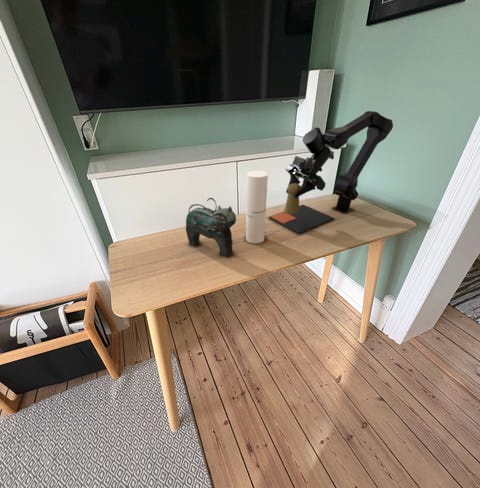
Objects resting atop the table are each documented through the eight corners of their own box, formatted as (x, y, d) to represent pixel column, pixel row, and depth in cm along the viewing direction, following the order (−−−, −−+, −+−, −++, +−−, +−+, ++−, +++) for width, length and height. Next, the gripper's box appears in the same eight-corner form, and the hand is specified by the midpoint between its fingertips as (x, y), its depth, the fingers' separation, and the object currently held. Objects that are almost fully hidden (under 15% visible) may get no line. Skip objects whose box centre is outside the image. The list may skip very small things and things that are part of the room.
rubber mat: (302, 206, 125) (303, 204, 124) (333, 219, 113) (333, 217, 113) (268, 218, 115) (269, 216, 114) (298, 234, 103) (298, 232, 103)
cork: (296, 215, 103) (299, 188, 96) (282, 212, 106) (284, 185, 99) (301, 209, 107) (304, 183, 101) (287, 206, 110) (289, 180, 103)
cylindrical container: (263, 244, 98) (266, 177, 82) (244, 242, 99) (244, 176, 84) (265, 235, 103) (269, 171, 88) (247, 233, 104) (248, 170, 89)
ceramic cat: (238, 252, 93) (237, 199, 81) (228, 261, 89) (225, 207, 77) (195, 238, 102) (188, 189, 89) (184, 246, 97) (175, 195, 85)
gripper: (291, 142, 100) (266, 176, 103) (325, 152, 87) (295, 191, 90) (304, 160, 107) (281, 191, 110) (337, 172, 94) (309, 207, 97)
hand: (290, 194), depth 102 cm, fingers closed on cork, 5 cm apart
